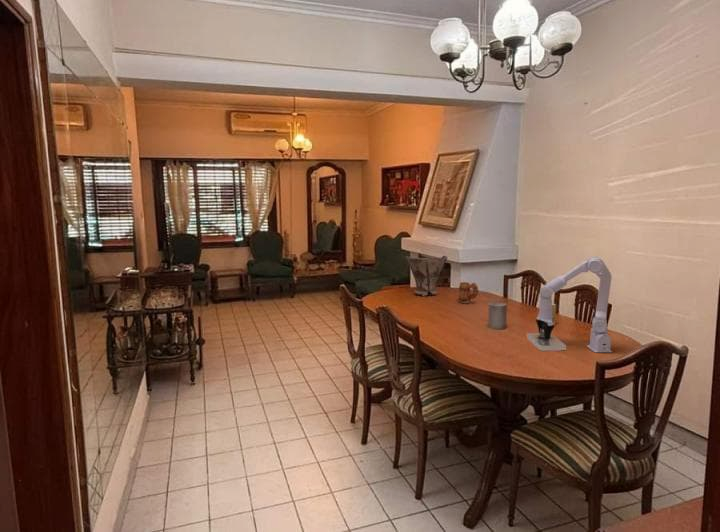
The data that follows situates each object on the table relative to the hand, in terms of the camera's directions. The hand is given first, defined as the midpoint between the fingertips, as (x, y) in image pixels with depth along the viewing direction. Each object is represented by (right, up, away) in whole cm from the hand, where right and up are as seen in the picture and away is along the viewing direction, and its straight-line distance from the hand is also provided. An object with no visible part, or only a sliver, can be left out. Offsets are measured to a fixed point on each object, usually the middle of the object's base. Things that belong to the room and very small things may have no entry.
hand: (544, 335), depth 227 cm
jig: (0, -4, -1) cm, 4 cm away
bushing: (0, -4, +1) cm, 4 cm away
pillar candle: (-15, 0, +29) cm, 32 cm away
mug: (-18, +9, +85) cm, 88 cm away
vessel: (-42, +13, +116) cm, 124 cm away
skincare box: (+15, +1, +32) cm, 35 cm away
